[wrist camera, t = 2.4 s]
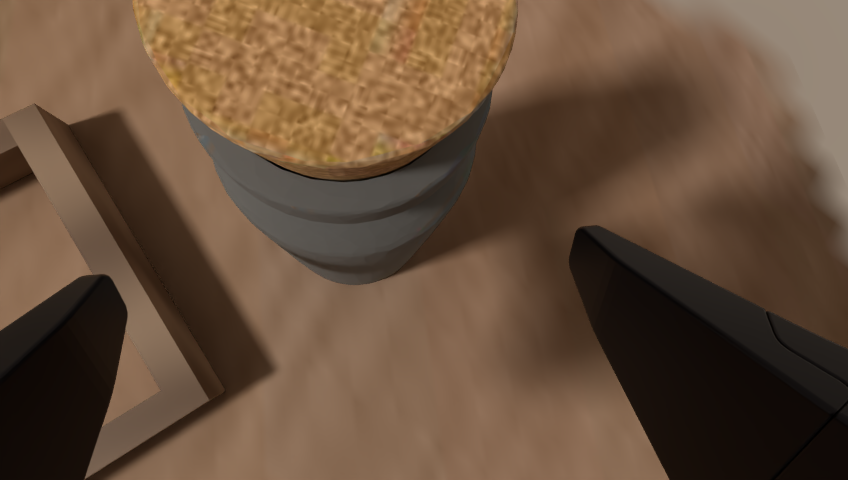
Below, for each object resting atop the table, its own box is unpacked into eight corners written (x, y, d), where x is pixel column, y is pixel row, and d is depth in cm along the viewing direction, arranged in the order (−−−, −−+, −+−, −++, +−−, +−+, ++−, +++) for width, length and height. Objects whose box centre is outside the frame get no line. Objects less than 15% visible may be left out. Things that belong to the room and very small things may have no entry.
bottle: (345, 129, 21) (299, -303, 6) (448, 209, 21) (645, -33, 6) (258, 229, 20) (-52, -8, 5) (367, 313, 20) (374, 321, 5)
